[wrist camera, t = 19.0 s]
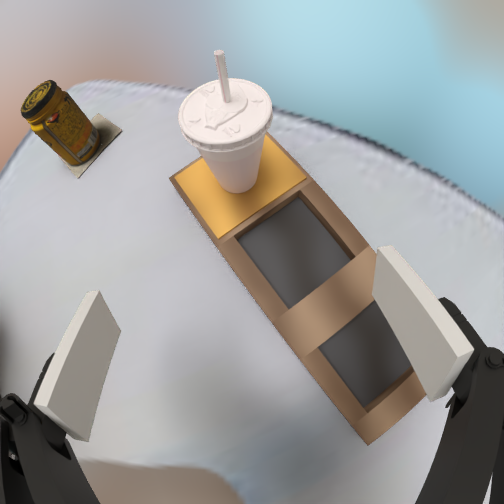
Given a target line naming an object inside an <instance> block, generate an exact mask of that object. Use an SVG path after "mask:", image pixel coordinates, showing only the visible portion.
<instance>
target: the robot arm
mask: <svg viewBox="0 0 504 504" xmlns="http://www.w3.org/2000/svg"><path fill="white" fill-rule="evenodd" d="M372 296H373V297H374V299H375V301H376V302H377V304H378V306H379V307H380V309H381V311H382V312H383V314H384V316H385V318H386V319H387V321H388V323H389V325H390V326H391V328H392V330H393V332H394V333H395V335H396V337H397V339H398V341H399V342H400V344H401V346H402V348H403V350H404V352H405V353H406V355H407V357H408V359H409V361H410V363H411V365H412V367H413V369H414V370H415V372H416V374H417V376H418V378H419V380H420V382H421V384H422V386H423V388H424V390H425V392H426V394H427V397H428V399H429V401H430V402H432V401H434V400H436V399H439V398H441V397H443V396H445V395H446V394H447V393H448V391H449V390H450V388H451V387H452V388H453V390H454V392H455V393H454V394H453V396H452V397H451V399H450V400H449V401H448V403H447V405H446V407H445V408H448V407H449V405H450V404H451V405H450V409H449V413H448V417H447V421H446V424H445V428H444V431H443V434H442V437H441V441H440V444H439V447H438V450H437V452H436V455H435V458H434V461H433V463H432V466H431V469H430V471H429V474H428V476H427V478H426V481H425V483H424V485H423V488H422V490H421V492H420V494H419V496H418V499H417V501H416V503H415V504H483V501H484V498H485V495H486V492H487V489H488V486H489V482H490V479H491V476H492V485H491V494H490V501H489V504H504V354H503V353H502V352H501V351H500V350H499V349H496V348H494V347H487V346H486V345H485V344H484V342H483V341H482V339H481V338H480V337H479V335H478V334H477V333H476V331H475V330H474V328H473V327H472V326H471V324H470V323H469V322H468V321H467V319H466V318H465V317H464V315H463V314H461V311H460V310H459V309H458V308H457V306H456V305H455V304H454V303H453V302H451V301H450V300H448V299H447V298H445V297H443V298H440V299H437V298H436V297H435V295H434V294H433V293H432V292H431V290H430V289H429V288H428V287H427V285H426V284H425V283H424V282H423V281H422V279H421V278H420V277H419V276H418V275H417V273H416V272H415V271H414V270H413V269H412V268H411V266H410V265H409V264H408V263H407V262H406V261H405V260H404V258H403V257H402V256H401V255H400V254H399V253H398V252H397V251H396V249H395V248H394V247H393V246H392V245H389V246H383V247H378V248H377V257H376V266H375V275H374V283H373V290H372ZM120 333H121V330H120V328H119V326H118V325H117V323H116V321H115V319H114V318H113V316H112V314H111V312H110V310H109V308H108V306H107V304H106V303H105V301H104V299H103V297H102V295H101V293H100V291H99V290H98V291H91V292H87V293H86V295H85V297H84V298H83V300H82V302H81V304H80V306H79V307H78V309H77V311H76V313H75V315H74V317H73V318H72V320H71V322H70V324H69V326H68V328H67V330H66V332H65V334H64V336H63V338H62V340H61V342H60V344H59V346H58V348H57V350H56V352H55V353H53V354H52V355H51V356H50V357H49V359H48V360H47V361H46V363H45V365H44V367H43V370H42V371H43V372H41V374H40V376H39V379H38V381H37V383H36V386H35V388H34V390H33V393H32V395H31V398H30V400H29V403H28V405H26V404H25V403H24V402H23V401H22V400H21V399H20V398H19V397H18V396H17V395H16V394H13V393H10V394H8V395H6V396H5V397H4V398H3V399H1V397H0V504H100V502H99V501H98V499H97V497H96V495H95V494H94V492H93V490H92V488H91V487H90V485H89V483H88V481H87V479H86V477H85V475H84V473H83V471H82V469H81V468H80V465H79V463H78V461H77V459H76V457H75V454H74V452H73V450H72V448H71V445H70V443H69V441H68V440H67V439H66V438H65V437H66V433H67V434H69V435H70V436H71V437H72V438H74V439H76V440H81V441H86V442H89V438H90V433H91V429H92V425H93V421H94V417H95V413H96V410H97V406H98V402H99V399H100V395H101V392H102V388H103V385H104V382H105V378H106V375H107V372H108V369H109V365H110V362H111V359H112V356H113V353H114V350H115V347H116V344H117V341H118V338H119V336H120ZM11 454H14V455H15V460H13V459H12V458H10V457H9V456H11ZM492 472H493V474H492Z"/></svg>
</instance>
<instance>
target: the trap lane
mask: <svg viewBox="0 0 504 504" xmlns="http://www.w3.org/2000/svg"><path fill="white" fill-rule="evenodd" d="M169 179H170V181H171V182H172V184H173V185H174V187H175V188H176V190H177V191H178V193H179V194H180V196H181V197H182V198H183V200H184V201H185V203H186V204H187V206H188V207H189V208H190V210H191V211H192V213H193V214H194V216H195V217H196V219H197V220H198V221H199V223H200V224H201V226H202V227H203V228H204V230H205V231H206V233H207V234H208V236H209V237H210V238H211V240H212V241H213V243H214V244H215V245H216V247H217V248H218V250H219V251H220V252H221V254H222V255H223V257H224V258H225V259H226V261H227V262H228V264H229V265H230V266H231V268H232V269H233V270H234V272H235V273H236V275H237V276H238V277H239V279H240V280H241V281H242V283H243V284H244V286H245V287H246V288H247V290H248V291H249V292H250V294H251V295H252V297H253V298H254V299H255V301H256V302H257V303H258V305H259V306H260V307H261V309H262V310H263V311H264V313H265V314H266V315H267V317H268V318H269V319H270V321H271V322H272V323H273V325H274V326H275V328H276V329H277V330H278V332H279V333H280V334H281V335H282V337H283V338H284V339H285V341H286V342H287V343H288V345H289V346H290V347H291V349H292V350H293V351H294V353H295V354H296V355H297V357H298V358H299V359H300V361H301V362H302V363H303V364H304V366H305V367H306V368H307V370H308V371H309V372H310V374H311V375H312V376H313V377H314V379H315V380H316V381H317V383H318V384H319V385H320V386H321V388H322V389H323V390H324V392H325V393H326V394H327V395H328V397H329V398H330V399H331V400H332V402H333V403H334V404H335V406H336V407H337V408H338V409H339V411H340V412H341V413H342V414H343V416H344V417H345V418H346V419H347V421H348V422H349V423H350V424H351V426H352V427H353V428H354V429H355V431H356V432H357V433H358V434H359V436H360V437H361V438H362V439H363V440H364V442H365V443H366V444H367V445H370V444H371V443H372V442H373V441H375V440H376V439H377V438H379V437H380V436H381V435H382V434H383V433H385V432H386V431H387V430H388V429H390V428H391V427H392V426H393V425H394V424H395V423H397V422H398V421H399V420H400V419H401V418H402V417H403V416H405V415H406V414H407V413H408V412H409V411H410V410H411V409H412V408H413V407H414V406H415V405H416V404H417V403H418V402H420V401H421V400H422V399H423V398H424V397H425V396H426V395H427V394H426V392H425V390H424V388H423V386H422V384H421V382H420V380H419V378H418V376H417V374H416V372H415V370H414V369H413V367H412V365H411V363H410V361H409V359H408V357H407V355H406V353H405V352H404V350H403V348H402V346H401V344H400V342H399V341H398V339H397V337H396V335H395V333H394V332H393V330H392V328H391V326H390V325H389V323H388V321H387V319H386V318H385V316H384V314H383V312H382V311H381V309H380V307H379V306H378V304H377V302H376V301H375V299H374V297H373V296H372V290H373V283H374V275H375V266H376V257H377V254H376V253H375V252H374V250H373V249H372V248H371V247H370V245H369V244H368V243H367V241H366V240H365V239H364V238H363V236H362V235H361V234H360V233H359V232H358V230H357V229H356V228H355V227H354V225H353V224H352V223H351V222H350V221H349V219H348V218H347V217H346V216H345V215H344V214H343V212H342V211H341V210H340V209H339V208H338V207H337V205H336V204H335V203H334V202H333V201H332V200H331V198H330V197H329V196H328V195H327V194H326V193H325V192H324V191H323V189H322V188H321V187H320V186H319V185H318V184H317V183H316V182H315V181H314V179H313V178H312V177H311V176H310V175H309V174H308V173H307V172H306V171H305V170H304V169H303V168H302V167H301V166H300V164H299V163H298V162H297V161H296V160H295V159H294V158H293V157H292V156H291V155H290V154H289V153H288V152H287V151H286V150H285V149H284V148H283V147H282V146H281V145H280V144H279V143H278V142H277V141H276V140H275V139H274V138H273V137H272V136H271V135H270V134H269V133H268V132H266V133H265V137H264V143H263V148H262V153H261V159H260V164H259V170H258V175H257V180H256V183H255V184H254V186H253V187H252V188H251V189H249V190H248V191H246V192H243V193H230V192H227V191H226V190H224V189H223V188H222V187H221V186H220V184H219V182H218V181H217V179H216V178H215V176H214V175H213V173H212V171H211V170H210V168H209V167H208V165H207V164H206V162H205V160H204V159H203V157H202V156H201V157H199V158H198V159H196V160H195V161H193V162H192V163H190V164H189V165H187V166H186V167H184V168H183V169H181V170H180V171H178V172H177V173H175V174H174V175H172V176H171V177H170V178H169Z"/></svg>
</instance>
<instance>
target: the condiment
mask: <svg viewBox="0 0 504 504" xmlns="http://www.w3.org/2000/svg"><path fill="white" fill-rule="evenodd" d="M21 113H22V116H23V117H24V118H25V119H26V120H27V121H28V123H30V125H31V129H32V130H33V131H34V132H35V134H37V135H38V136H39V137H40V138H41V139H42V140H43V141H44V142H45V143H46V144H48V145H49V146H50V147H51V148H52V149H53V150H54V151H55V152H56V153H57V154H58V156H59V157H60V158H61V159H62V161H63V162H64V163H65V164H66V165H67V166H68V168H69V169H70V170H71V171H72V172H73V174H74V175H75V176H76V177H77V178H78V177H79V176H80V175H81V174H82V173H83V172H84V171H85V170H86V169H87V168H88V166H89V165H90V164H91V163H92V162H93V161H94V160H95V158H97V156H98V155H99V154H100V153H101V152H102V150H103V149H104V148H105V147H106V146H107V145H108V144H109V143H110V142H111V141H112V140H113V139H114V138H115V136H116V135H117V134H118V133H120V132H121V131H122V129H120V128H118V127H117V126H116V125H114V124H113V123H111V122H110V121H109V120H107V119H106V118H104V117H103V116H102V115H100V114H99V113H98V114H97V115H96V116H95V117H94V118H93V119H92V120H91V121H90V120H89V119H88V118H87V117H86V115H85V114H84V113H83V112H82V111H81V109H80V108H79V107H78V105H77V104H76V103H75V101H74V100H73V99H72V98H71V96H70V95H69V94H68V93H67V92H65V91H62V90H61V88H60V87H58V86H57V84H56V83H55V82H54V81H52V80H48V81H45V82H44V83H42V84H40V85H38V86H37V87H36V88H35V89H34V90H33V91H32V92H31V93H30V94H29V95H28V97H27V98H26V99H25V101H24V103H23V105H22V108H21ZM101 144H102V145H101Z"/></svg>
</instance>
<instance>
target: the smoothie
mask: <svg viewBox="0 0 504 504" xmlns="http://www.w3.org/2000/svg"><path fill="white" fill-rule="evenodd" d="M214 56H215V61H216V66H217V71H218V76H219V80H215V81H212V82H208V83H206V84H204V85H202V86H200V87H198V88H196V89H195V90H194V91H192V92H191V93H190V94H189V95H188V96H187V97H186V98H185V99H184V101H183V102H182V104H181V106H180V109H179V113H178V120H179V124H180V127H181V132H182V134H183V136H184V137H185V139H186V140H187V141H188V142H189V143H190V144H192V145H193V146H194V147H196V148H197V150H198V151H199V153H200V154H201V156H202V157H203V159H204V160H205V162H206V164H207V165H208V167H209V168H210V170H211V171H212V173H213V175H214V176H215V178H216V179H217V181H218V182H219V184H220V186H221V187H222V188H223V189H224V190H226V191H227V192H230V193H243V192H246V191H248V190H249V189H251V188H252V187H253V186H254V184H255V183H256V180H257V175H258V170H259V164H260V159H261V153H262V148H263V143H264V137H265V133H266V132H267V130H268V129H269V128H270V125H271V122H272V119H273V114H272V103H271V99H270V97H269V95H268V94H267V93H266V91H265V90H264V89H263V88H261V87H260V86H258V85H257V84H255V83H253V82H250V81H247V80H243V79H235V78H228V75H227V69H226V62H225V56H224V51H223V50H217V51H215V52H214Z"/></svg>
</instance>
